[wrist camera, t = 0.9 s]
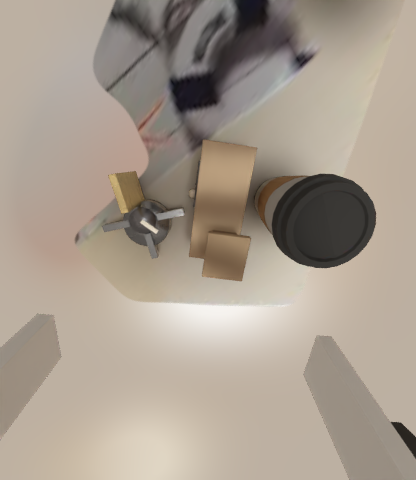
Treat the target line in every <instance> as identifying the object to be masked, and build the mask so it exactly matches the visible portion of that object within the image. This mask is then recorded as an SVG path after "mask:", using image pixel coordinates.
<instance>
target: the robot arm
mask: <svg viewBox="0 0 416 480" xmlns="http://www.w3.org/2000/svg"><path fill="white" fill-rule="evenodd" d="M60 358H61V353H60V347H59V342H58V336H57V331H56V326H55V321H54V316H53V315H46V314H37V315H36V316H35V317H34V318H32V319H31V320H30V321H29V322H28V323H27V324H26V325H25V326H24V327H23V328H22V329H20V330H19V331H18V332H17V333H16V334H15V335H14V336H13V337H12V338H11V339H9V340H8V341H7V342H6V343H5V344H4V345H3V346H2V347H1V348H0V440H1V438H2V437H3V435H4V434H5V433H6V432H7V430H8V429H9V427H10V426H11V425H12V423H13V422H14V421H15V419H16V418H17V417H18V415H19V414H20V413H21V411H22V410H23V408H24V407H25V406H26V404H27V403H28V402H29V400H30V399H31V397H32V396H33V395H34V394H35V392H36V391H37V390H38V388H39V387H40V385H41V384H42V383H43V381H44V380H45V379H46V377H47V376H48V375H49V373H50V372H51V371H52V369H53V368H54V366H55V365H56V364H57V362H58V361H59V360H60ZM304 377H305V379H306V381H307V384H308V386H309V388H310V391H311V393H312V395H313V398H314V400H315V402H316V404H317V407H318V409H319V411H320V414H321V416H322V418H323V420H324V423H325V425H326V427H327V429H328V432H329V434H330V436H331V439H332V441H333V443H334V446H335V448H336V450H337V452H338V455H339V457H340V459H341V462H342V464H343V466H344V468H345V471H346V473H347V475H348V478H349V480H416V437H415V436H414V435H413V434H412V433H411V432H410V431H409V430H408V429H407V428H406V427H405V426H404V425H403V424H402V423H399V422H390V421H389V419H388V418H387V416H386V415H385V414H384V412H383V411H382V409H381V408H380V406H379V405H378V403H377V402H376V400H375V399H374V398H373V396H372V395H371V393H370V392H369V390H368V389H367V387H366V386H365V384H364V383H363V382H362V380H361V379H360V377H359V376H358V374H357V373H356V371H355V370H354V369H353V367H352V366H351V364H350V363H349V361H348V360H347V358H346V357H345V355H344V354H343V352H342V351H341V350H340V348H339V347H338V345H337V344H336V342H335V341H334V339H333V338H332V337H330V336H316V339H315V342H314V345H313V348H312V351H311V354H310V357H309V360H308V363H307V365H306V368H305V371H304Z"/></svg>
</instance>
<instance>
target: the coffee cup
mask: <svg viewBox="0 0 416 480" xmlns="http://www.w3.org/2000/svg"><path fill="white" fill-rule="evenodd" d="M255 208H256V210H257V213H258V214H259V216H260V218H261V220H262V221H263V223H264V224H265V226H266V227H267V229H268V230H269V231H270V233H271V234H272V235H273V238H274V240H275V242H276V244H277V246H278V247H279V249H280V250H281V251H282V252H283V253H284V254H285V255H287V256H288V257H289V258H291V259H292V260H294V261H295V262H297V263H299V264H302V265H306V266H312V267H315V268H330V267H335V266H338V265H341V264H343V263H345V262H348V261H349V260H351V259H352V258H354V257H355V256H356V255H358V254H359V253H360V252H361V251H362V250H363V248H364V247H365V246H366V245H367V243H368V242H369V240H370V238H371V236H372V234H373V231H374V228H375V225H376V211H375V208H374V204H373V202H372V200H371V199H370V197H369V196H368V194H367V193H366V192H364V191H363V189H362V188H361V187H360V186H359V185H357V184H356V183H355V182H354V181H352V180H349V179H346V178H343V177H340V176H337V175H334V174H318V175H313V176H283V177H276V178H272V179H269V180H268V181H266V182H264V183H263V184H262V185H261V186H260V188H259V189H258V190H257V193H256V195H255Z"/></svg>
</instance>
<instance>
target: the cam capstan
mask: <svg viewBox="0 0 416 480" xmlns="http://www.w3.org/2000/svg"><path fill="white" fill-rule="evenodd" d="M108 176H109V179H110V182H111V185H112V188H113V190H114V194H115V196H116V199H117V202H118V205H119V208H120V211H121V214H123V213H125V215H124V218H123V221H118V222H113V223H109V224H105V225H103V226H102V227H103V230H104V232H107V231H112V230H116V229H121V228H124V229H125V232H126V234H127V235H128V236H129V238H130V239H131V240H133V241H134V242H136V243H138V244H140V245H144V246H148V248H149V251H150V254H151V257H152V259H153V258H158V256H159V253H158V250H157V247H156V244H158V243H160V242H161V241H162V240H164V238H165V237H166V235H167V234H168V232H169V230H170V227H171V218H173V217H177V216H182V215H185V212H184V208H178V209H174V210H169V211H168V210H167V209H166V208H165V207H164V206H163V205H162V204H161V203H159V202H157V201H154V200H144V196H143V193H142V190H141V187H140V183H139V180H138V177H137V174H136V171H134V172H126V173H117V174H111V175H108Z"/></svg>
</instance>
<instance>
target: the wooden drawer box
mask: <svg viewBox="0 0 416 480" xmlns="http://www.w3.org/2000/svg"><path fill="white" fill-rule="evenodd" d="M256 151H257V148H255V147H249V146H242V145H236V144H229V143H223V142H216V141H210V140H203V145H202V153H201V161H199V164H198V172H197V180H196V184H195V185H196V189H191V190H190V191H189V196H190V197H191V198H194V206H193V207H195V211H194V219H193V228H192V236H191V244H190V252H189V257H195V258H203V259H204V265H203V272H202V277H210V278H219V279H227V280H235V281H242V278H243V273H244V268H245V264H246V259H247V255H248V250H249V245H250V241H251V238H250V236H243V235H240V232H241V227H242V222H243V217H244V212H245V207H246V202H247V197H248V192H249V187H250V182H251V177H252V172H253V166H254V161H255V156H256Z"/></svg>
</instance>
